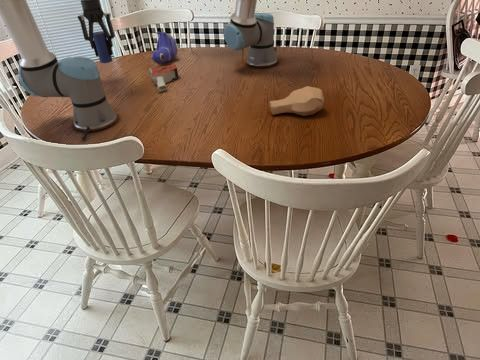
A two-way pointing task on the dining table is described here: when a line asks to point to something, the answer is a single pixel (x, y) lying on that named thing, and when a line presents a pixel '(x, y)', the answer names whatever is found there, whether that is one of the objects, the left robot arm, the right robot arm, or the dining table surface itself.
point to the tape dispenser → (163, 76)
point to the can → (102, 47)
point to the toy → (164, 49)
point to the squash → (300, 102)
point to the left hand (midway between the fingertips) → (104, 55)
